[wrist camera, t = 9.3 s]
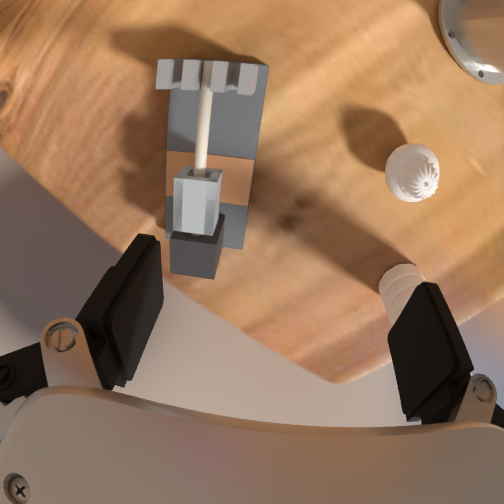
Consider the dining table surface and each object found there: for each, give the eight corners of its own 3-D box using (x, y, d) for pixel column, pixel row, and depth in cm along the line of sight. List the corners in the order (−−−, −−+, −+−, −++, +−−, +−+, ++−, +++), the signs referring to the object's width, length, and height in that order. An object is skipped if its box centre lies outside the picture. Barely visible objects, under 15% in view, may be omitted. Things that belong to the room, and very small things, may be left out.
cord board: (177, 59, 25) (147, 56, 18) (269, 66, 25) (268, 62, 18) (169, 232, 36) (147, 272, 29) (243, 242, 36) (236, 286, 29)
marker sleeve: (184, 165, 27) (173, 177, 24) (223, 169, 27) (217, 182, 24) (182, 213, 30) (173, 230, 27) (218, 218, 30) (212, 235, 27)
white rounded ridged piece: (433, 166, 29) (464, 189, 23) (395, 198, 32) (419, 228, 26) (404, 124, 27) (434, 139, 21) (363, 159, 30) (385, 182, 24)
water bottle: (368, 287, 39) (418, 468, 18) (402, 253, 36) (482, 434, 15) (405, 311, 41) (456, 466, 20) (436, 282, 38) (507, 436, 17)
